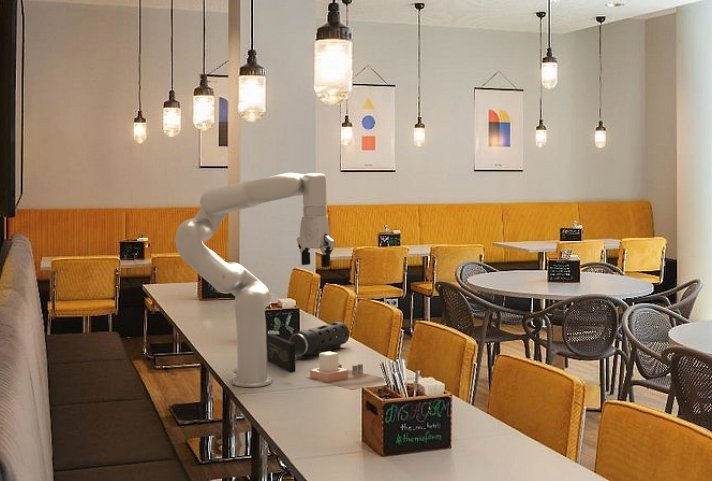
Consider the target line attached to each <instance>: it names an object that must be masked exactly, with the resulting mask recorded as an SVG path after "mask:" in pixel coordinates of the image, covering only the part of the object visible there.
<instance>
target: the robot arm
mask: <svg viewBox="0 0 712 481" xmlns="http://www.w3.org/2000/svg"><path fill="white" fill-rule="evenodd" d="M327 195H328V194H327V176H326V174H324V173H317V172H314V173H311V172H310V173H305V174H304V173H297V172H296V173H295V172H285V173H281V174H276V175H271V176H269V177H268V176H267V177H263V178H259V179H255V180H246V181H242V182H238V183H237V182H236V183H233V184H227V185H223V186H219V187H216V188H211V189H208V190H206V191H205V192H203V193H202V195H201V196H200V200H199V204H200V205H199V206H200V209H199V210H198V212H197V213H196V214H195V216H194V217H192V218H189V219H188V218H187V219H186V220H184V221H183V222H181V223H180V225H179V226H178V228H177V230H176V234H175V247H176V248H175V249H176V250H177V253H178V255H179V257H180V258H181V259H182V261H183V262H185V263H186V264H187V265H188V266H189V267H190V268H191V269H193V270H194V271H195V272H196V273H197V274H198V275H199V276H200V277H202V278H203V279H204V280H205V281H206V282H207V283H209V285H211V286H212V287H213V288H214V289H215V290H216V291H217V292H219V293H221V294H232V296H234V297H235V299H234V306H233V307H234V315H235V324H236V325H235V326H236V330H235V331H236V368H234V369H233V370H232V373H233V374H236V377H235V378H234V379H233V380H232V385H234V386H236V387H239V388H240V387H241V388H257V387H264V386H268V385H270V384H272V382H273V378H272V377H271V376H268V361H267V322H266V308H268V306H269V305H270V302H271V298H272V297H271V296H272V295H271V292H270V290H269V288H268V287H267V286H266V285H265V284H264V283H263V282H262V281H261V280H260V279H258V277H256V276H255V275H254V274H252V272H250V271H249V270H248V269H246V268H245V267H244V266H243V265H242V264H240V263H238V262H235V261H228V262H227V261H225V260H224V259H222V258H221V257H220V256H219V255H218V254H217V253H216V252H215V251H214V250H212V249H210V248H209V247H207V246H206V244H204V243H206V242H207V241H208V240H210V239H211V238H212V237H213V235H214V234H215V233H216V231H217V230H218V228H219V227H220V225H221V224H222V222H223V221H224V219H225V218H226V216H227V215H228V214H229V213H231V212H237V211H241V210H245V209H250V208H254V207H256V206H258V205H259V206H260V205H261V204H265V203H269V202H274V201H277V200H282V199H287V198H292V197H297V196H302V216H301V220H300V225H299V226H300V227H299V236H298V237H297V238H296V243H297V245H298V246H297V247H298V248H299V252H300V254H301V255H300V256H301V258H300V259H301V260H300V261H301V266H308V265H311V252H310V250H311V249H320V252H321V256H320V257H321V258H320V261H321V262H320V264H321V267H322V268H330V267H331V255H332V251H333V250H334V247H335V244H336V243H335V241H336V240H334V239H333V238H332V237H330V236H331V235H330V224H329V219H328V212H327V211H328V208H327V206H328V204H327V202H328V200H327Z"/></svg>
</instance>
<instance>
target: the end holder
mask: <svg viewBox="0 0 712 481" xmlns="http://www.w3.org/2000/svg"><path fill="white" fill-rule="evenodd" d="M348 370H349V369H348ZM348 370H347V368H338V371H335V372H330V373H326V372H322V371H319V367H318V368H317V367H316V368H313V369H310V370H309V377H311V378H315V379H319V380H323V381H327V382H330V381H334V380H338V379H343V378H347V377H348Z"/></svg>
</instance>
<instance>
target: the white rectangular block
mask: <svg viewBox="0 0 712 481" xmlns="http://www.w3.org/2000/svg"><path fill="white" fill-rule="evenodd" d="M318 360H319V362H318V364H319V367H318V368H319V371H322V372H326V373H330V372H335V371H338V364H339V352H335V351H334V352H333V351H331V350H329V351H324V352H318Z"/></svg>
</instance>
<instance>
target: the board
mask: <svg viewBox="0 0 712 481" xmlns="http://www.w3.org/2000/svg"><path fill="white" fill-rule="evenodd" d="M342 365H343V364H341V363H338V368H342ZM346 369H347V368H346ZM363 369H364V366H363V363H358V364H354V365H352V368H351V369H347V370H348V377H347V378H343V379H338V380H334V381H330V382H327V381H323V380H319V379H315V378H311V377H310V376H306V377H304V378H305V379H308V380H312V381H316V382H319V383H323V384H326V385H330V386H331V385H332V386H335V387H339V388H343V389H346V390H351V391H354V390H359V389H362V388H361V387H363V388H365V387H364V386H367V387H370V386H374V385H379V384H383V383H386V382H385V381H384V378H385V377H383V376H382V377H381V376H377V375H373V374H368V373H364V370H363Z"/></svg>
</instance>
